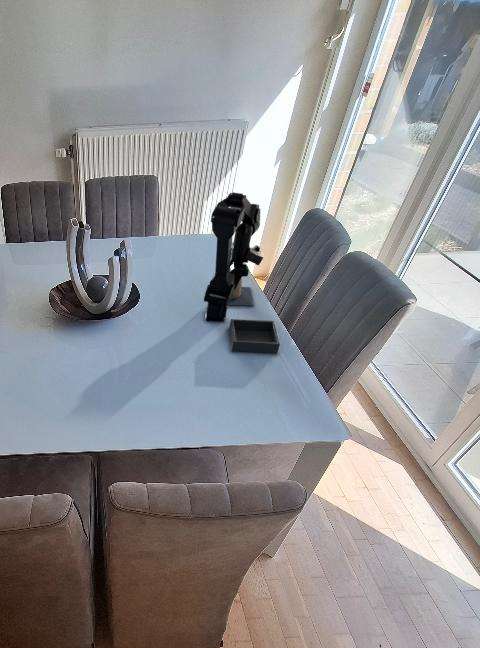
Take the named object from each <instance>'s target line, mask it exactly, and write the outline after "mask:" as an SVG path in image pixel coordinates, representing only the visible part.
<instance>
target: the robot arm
mask: <svg viewBox="0 0 480 648" xmlns="http://www.w3.org/2000/svg"><path fill="white" fill-rule="evenodd" d="M210 223H211V232H212V233H213V234H214V236H215V238H216V250H215V271H214V274H213V276H212V278H211V279H210V281H209V283H208V284H207V287H206V290H205V292H204V297H203V302H204V303H207V305H206V311H205V322H212V323H213V322H215V323H217V322H218V323H224V322H225V318H226V317H227V311H228V304H229V303H230V301H231V298H232V295H233V291H234V289H236V287H237V285H238V283H239V281H240V279H241V278H242V279H243V277H245V278H246V277H248V276H249V272H250V268H249V266H248V265H247V264H248V263H249V262H250V263H252V264H254V265H256V266H260V264H261V262H262V261H263V259H264V257H265V256H264V253H263V252H262V251H261V247H260V245H257V244H256V245H254V246H253V247H251V239H252V237H253V236H254V235H255V233H257V231H258V230H259V228H260V227H261V208H260V204H258V203H252V202H250V200H249V199H248V198H247V194H245V193H241V192H234V191H233V192H229V193H228V195H227V197H226V198H224V199H222V200H220V201H219V202H218V203H217V204H216V205H215V207H214V209H213V210H212V212H211V217H210ZM233 237H234V238H233ZM211 294H213V295H218V296H222V297H227V299H226V298H222V297H217V296H213V295H211Z"/></svg>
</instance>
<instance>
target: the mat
mask: <svg viewBox="0 0 480 648" xmlns="http://www.w3.org/2000/svg"><path fill="white" fill-rule="evenodd" d="M210 295H213V294H210ZM213 296H217V297H222V296H218V295H213ZM222 298H226V297H222ZM226 299H227V298H226ZM228 306H230V307H232V306H233V307H254V304H253V298H252V294H251V289H250V286H242V288H241V294H240V296H239V297H238V298H235V299H231V301H230V303H229V304H228V305H227V307H228Z"/></svg>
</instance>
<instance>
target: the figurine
mask: <svg viewBox="0 0 480 648" xmlns="http://www.w3.org/2000/svg"><path fill="white" fill-rule="evenodd" d="M242 287H243V277H242V278H241V279H240V281H239V283H238V285H237V287H236V289H234V291H233V295H232V298H231V299H235V298H238V297H239V296H240V294H241V288H242ZM226 298H227V297H226Z"/></svg>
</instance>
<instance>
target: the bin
mask: <svg viewBox="0 0 480 648" xmlns="http://www.w3.org/2000/svg"><path fill="white" fill-rule="evenodd" d="M228 335H229V342H230V350H231V353H244V354H265V355H278V352H279V349H280V346H281V342H280V339H279V335H278V331H277V327H276V322H275V320H259V319H239V318H237V319H236V318H231V319H230V322H229V327H228Z"/></svg>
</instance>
